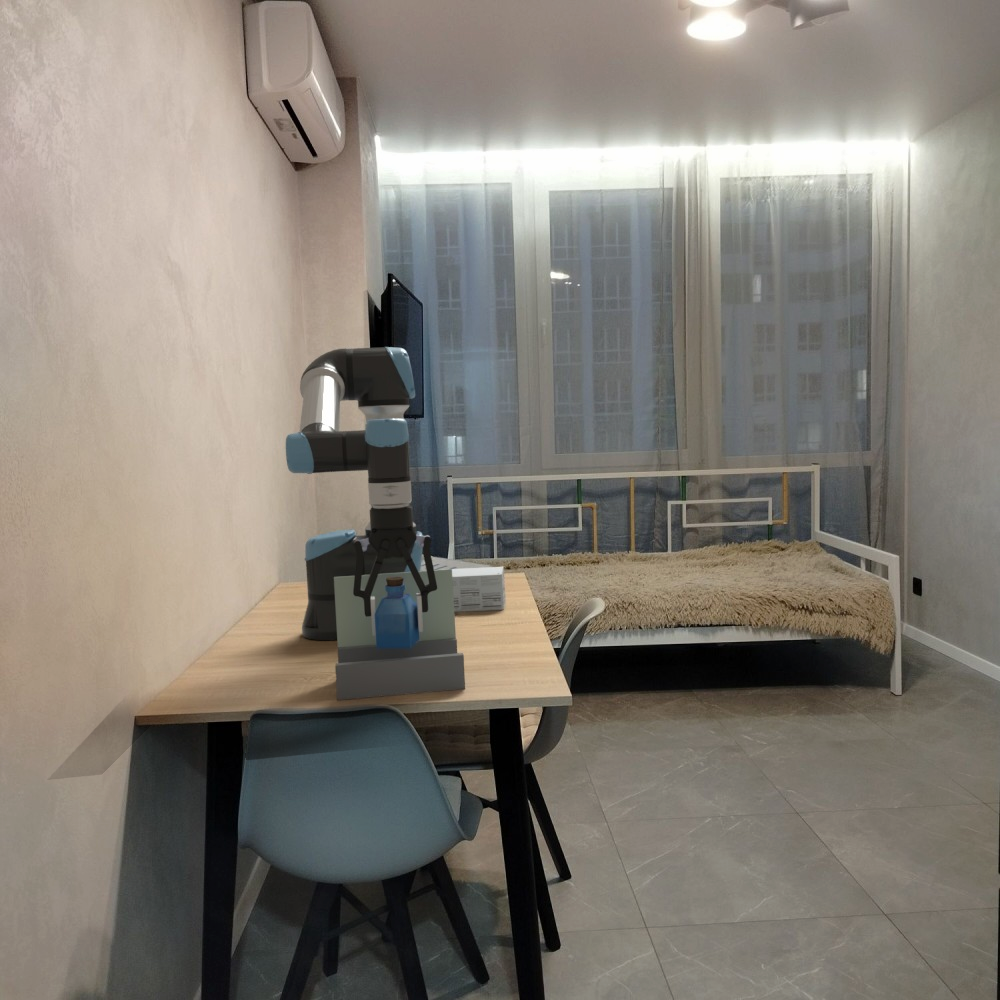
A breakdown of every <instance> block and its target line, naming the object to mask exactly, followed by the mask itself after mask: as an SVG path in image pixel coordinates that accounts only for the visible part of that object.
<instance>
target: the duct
mask: <svg viewBox="0 0 1000 1000" xmlns="http://www.w3.org/2000/svg"><path fill="white" fill-rule="evenodd" d="M464 657H465V656H464V653H463V652H458V639H457V637H456V638H450V639H438V640H426V641H417V642H416V643H415V644H414V645H413V646H412V648H411V649H377V647H376V645H363V646H351V647H338V646H337V662H336V663H335V665H334V666H335V669H334V670H335V682H336V685H335V686H336V700H337V701H343V700H351V699H352V700H356V699H364V698H376V697H388V696H399V695H409V694H421V693H430V692H431V693H432V692H433V693H435V692H443V691H455V690H465V689H466V679H465V676H466V675H465V660H464V659H465V658H464Z"/></svg>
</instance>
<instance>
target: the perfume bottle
mask: <svg viewBox="0 0 1000 1000" xmlns="http://www.w3.org/2000/svg"><path fill="white" fill-rule="evenodd" d="M386 581H387V585H386V586H385V588H386V591H387V594H388V595H387V596H385V597H384V598H382V599H381V602H380V604H379V606H378V608H377V610H376V612H375V630H376V647H377V649H411V648H412V646H413V645H414V644H415V643H416V642H417V641H418V640H419V630H418V618H417V605H416V603H415V602H414V600H413V599H412V597H411V596H410V594H404V590H405V584H403V577H389V578H386Z"/></svg>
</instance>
